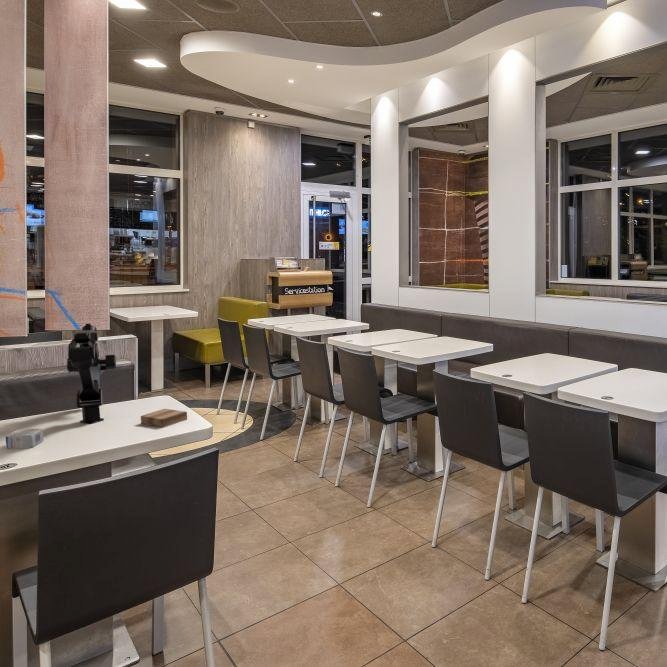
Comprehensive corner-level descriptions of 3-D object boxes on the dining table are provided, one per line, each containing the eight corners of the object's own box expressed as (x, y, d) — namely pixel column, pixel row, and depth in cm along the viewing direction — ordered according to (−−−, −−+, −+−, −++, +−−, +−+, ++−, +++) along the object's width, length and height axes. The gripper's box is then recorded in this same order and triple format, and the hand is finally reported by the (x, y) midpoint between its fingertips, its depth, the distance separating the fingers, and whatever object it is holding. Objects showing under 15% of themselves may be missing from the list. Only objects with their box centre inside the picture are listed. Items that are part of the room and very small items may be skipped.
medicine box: (43, 440, 191) (18, 441, 191) (42, 428, 191) (16, 429, 190) (32, 447, 183) (6, 449, 183) (31, 434, 183) (4, 436, 182)
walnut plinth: (187, 419, 214) (186, 411, 214) (163, 427, 204) (163, 419, 203) (165, 416, 220) (164, 408, 220) (141, 423, 210) (140, 415, 209)
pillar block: (99, 390, 236) (99, 360, 235) (87, 391, 234) (88, 360, 233) (99, 388, 240) (99, 359, 239) (87, 388, 239) (88, 359, 237)
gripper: (113, 335, 234) (116, 358, 245) (65, 338, 228) (70, 361, 239) (114, 356, 227) (117, 378, 239) (64, 360, 221) (70, 382, 232)
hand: (94, 374), depth 237 cm, fingers closed on pillar block, 5 cm apart
